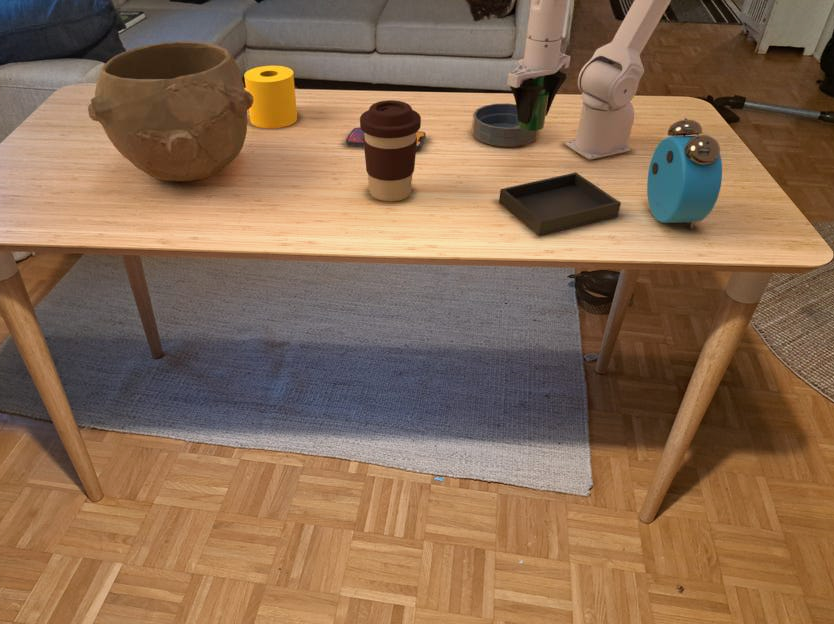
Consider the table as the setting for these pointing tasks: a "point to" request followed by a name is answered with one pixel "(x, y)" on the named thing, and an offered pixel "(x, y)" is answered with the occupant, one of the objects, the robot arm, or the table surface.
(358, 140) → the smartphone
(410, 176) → the coffee cup
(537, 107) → the bottle
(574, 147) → the robot arm
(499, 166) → the table surface
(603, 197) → the tray
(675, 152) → the alarm clock
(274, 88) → the yellow toilet paper roll
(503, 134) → the dish
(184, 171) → the bowl
